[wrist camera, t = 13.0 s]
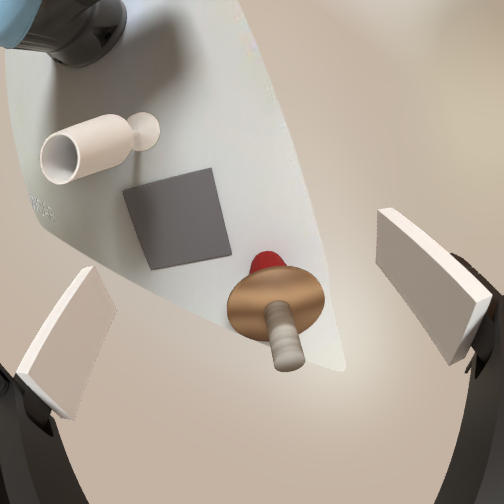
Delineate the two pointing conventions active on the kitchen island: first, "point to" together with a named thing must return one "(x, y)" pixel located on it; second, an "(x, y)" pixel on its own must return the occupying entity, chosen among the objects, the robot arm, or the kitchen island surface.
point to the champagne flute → (96, 145)
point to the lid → (277, 310)
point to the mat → (178, 219)
